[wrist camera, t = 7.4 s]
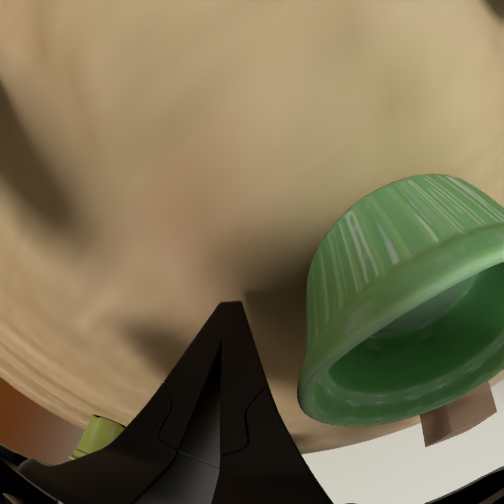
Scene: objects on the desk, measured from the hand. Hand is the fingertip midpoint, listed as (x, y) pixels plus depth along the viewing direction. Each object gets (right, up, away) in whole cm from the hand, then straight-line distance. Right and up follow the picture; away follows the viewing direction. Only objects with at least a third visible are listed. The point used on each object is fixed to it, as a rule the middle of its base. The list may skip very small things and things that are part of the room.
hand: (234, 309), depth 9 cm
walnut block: (+18, -10, +8) cm, 22 cm away
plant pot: (-21, -24, +22) cm, 38 cm away
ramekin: (+6, +1, 0) cm, 7 cm away
